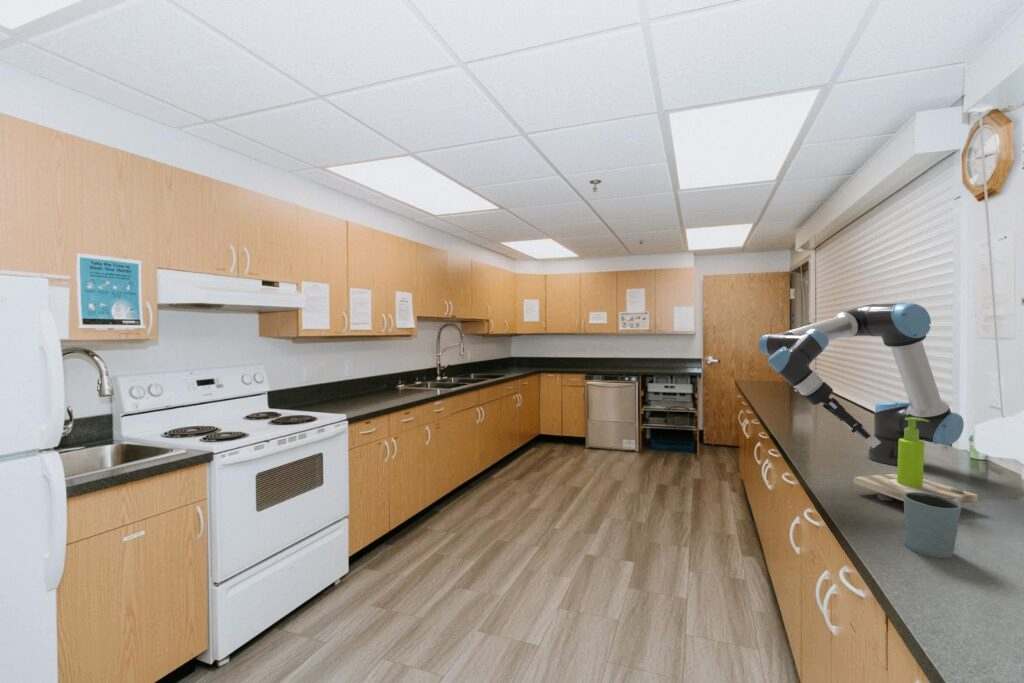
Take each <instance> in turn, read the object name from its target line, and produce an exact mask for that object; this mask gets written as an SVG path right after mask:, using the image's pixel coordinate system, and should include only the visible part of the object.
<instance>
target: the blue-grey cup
mask: <svg viewBox="0 0 1024 683" xmlns="http://www.w3.org/2000/svg"><path fill="white" fill-rule="evenodd" d="M903 508H904V509H903V511H904V512H903V513H904V514H903V515H904V516H903V521H904V522H903V527H904V531H905V532H904V545H905V546H906V547H907V549H909V550H911V551H913V552H915V553H917V554H920V555H924V556H927V557H932V558H937V559H950V558H952V557H953V556H954V553H955V545H956V540H957V535H958V534H957V533H958V528H959V525H958V524H959V522H960V516H961V512H962V505H961V503H960V504H959V503H957V502H955V501H953V500H951V499H948V498H945V497H942V496H938V495H933V494H927V493H920V492H908V493H905V494H904V501H903Z"/></svg>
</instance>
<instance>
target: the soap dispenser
mask: <svg viewBox="0 0 1024 683" xmlns="http://www.w3.org/2000/svg"><path fill="white" fill-rule="evenodd" d="M905 420H908V427H907V428H904V438H902V439H899V441H898V465H897V469H896V470H897V473H896V474H897V483H899V484H901V485H904V486H909V487H917V488H919V487H923V479H924V459H925V442H924V441H923V440H919V430H918V429H917V428H916V421H926V422H929V420H926V419H922V418H916V417H908V418H905Z"/></svg>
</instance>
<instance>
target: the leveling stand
mask: <svg viewBox="0 0 1024 683" xmlns="http://www.w3.org/2000/svg"><path fill="white" fill-rule="evenodd" d="M853 484H855V485H858V486H860V487H863V488H866V489H868V490H871V491H875V492H877V497H878V498H880V499H883V500H887V501H894V502H895V499H897V500H899V501H901V502H904V494H905V493H908V492H920V493H927V494H933V495H938V496H942V497H945V498H948V499H951V500H953V501H955V502H957V503H959V504H960V505H961V504H969V503H977V502H978V494H975V493H972V492H969V491H965V490H963V489H960V488H956V487H954V486H953V487H952V486H949V485H946V484H943V483H940V482H936V481H933V480H929V479H926V478H923V487H919V488H917V487H909V486H904V485H901V484H899V483H897V473H889V474H888V473H887V474H874V475H863V476H854V477H853ZM877 497H876V498H877ZM878 498H877V499H878ZM880 499H879V500H880ZM887 501H886V502H887Z"/></svg>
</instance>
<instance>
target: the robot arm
mask: <svg viewBox="0 0 1024 683" xmlns="http://www.w3.org/2000/svg"><path fill="white" fill-rule="evenodd" d="M931 323H932V319H931V316H930V314H929V312H928V311H927V309H926V308H925V307H924V306H923V305H920V304H918V303H913V302H912V303H910V302H909V303H908V302H898V303H897V302H896V303H878V304H877V303H875V304H874V303H873V304H867V305H863V306H858V307H855V308H852V309H848V310H845V311H842V312H839V313H837V314H835V316H834V317H832V318H827V319H824V320H821V321H818V322H813V323H811V324H807V325H804V326H800V327H797V328H794V329H790V330H786V331H784V332H780V333H777V334H776V333H774V334H773V333H771V334H765V335H762V336H761V337H760V339H759V341H758V349H759V351H760V353H761V354H763V355H765V356H769V358H768V359H767V363H768V365H769V366H770V367H771V368H772V369H773V370H774V371H775V372H776V373H777V374H779V375H780V376H781V378H783V379H784V380H785V381H786V382H787V383H789V385H790V386H792V387H793V388H794V390H793V391H794V392H796V393H797V392H799V393H800V394H801V396H804V398H805V399H806V400H807V401H808V402H809V403H810V404H811V405H813V406H816V405H819V404H821V403H822V407H823V408H824V409H825V410H827V412H829V413H831V414H832V415H833V416H835V417H836V418H837V419H839V421H841V422H842V423H843V424H844V425H845V426H846V427H847V428H848V429H850V431H851V433H852V434H855V435H856V436H857V437H858V438H859V439H860V438H861V439H862V440H863V441H864V442H865V443H866V444H868V445H869V446H870V447H869V449H868V451H867V458H868V459H869V460H871V461H874V462H876V463H877V462H878V463H881V464H886V465H891V466H892V465H893V466H898V441H899V439H902V438H904V428H907V427H908V420H905V418H908V417H916V418H922V419H926V420H929V422H926V421H916V428H917V429H918V430H919V440H920V441H923V442H924V441H925V442H929V443H931V444H932V443H933V444H935V445H944V446H949V445H950V446H951V445H953V444H956V442H957V441H958V440H959V439H960V437H961V436H962V434H963V431H964V424H965V423H964V419H963V417H962V415H960V414H958V413H956V412H952V411H951V408H950V405H949V404H948V403H947V402H946V401H944V400H942V399H941V395H940V393H939V389H938V387H937V384H936V380H935V378H934V374H933V372H932V368H931V365H930V362H929V360H928V356H927V353H926V349H925V347H924V344H923V342H924V340H926V338H927V335H928V334H929V332H930V330H931V325H932V324H931ZM852 337H880V338H882V341H883V345H884V346H885V347H887V348H890V349H891V351H892V354H893V357H894V360H895V363H896V366H897V369H898V372H899V374H900V378H901V380H902V383H903V387H904V390H905V393H906V395H907V398H908V401H880V402H877V403H876V404H875V406H874V411H873V414H874V417H873V418H874V420H873V421H874V424H873V425H874V427H873V433H871V432H870V431H869V430H868V429H867V427H865V426H863V424H862V423H861V422H860V421H858V420H857V419H856V418H855V417H853V416H852V415H851V414H850V413H849V412H848V411H847V410H846V408H845V407H844V406H843V405H841V404H840V402H839V401H838V400H837V399H836V398H834V397H832V398H831V397H830V395H832V394H833V392H834V390H833V388H832V386H830V385H829V384H828V383H827V382H825V381H823V379H822V377H820V376H819V375H818V374H817V373H816V372H815V371H813V370H812V369H811V368H810V367H809V365H810V364H811V363H812V362H813V361H814V360H815V359H816V358H817V357H818V356H819V355H820V354H821V353H823V352H824V350H825V349H826V348H827V346H828V345H829V343H830V341H832V340H835V339H839V338H845V339H848V338H852Z"/></svg>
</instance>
